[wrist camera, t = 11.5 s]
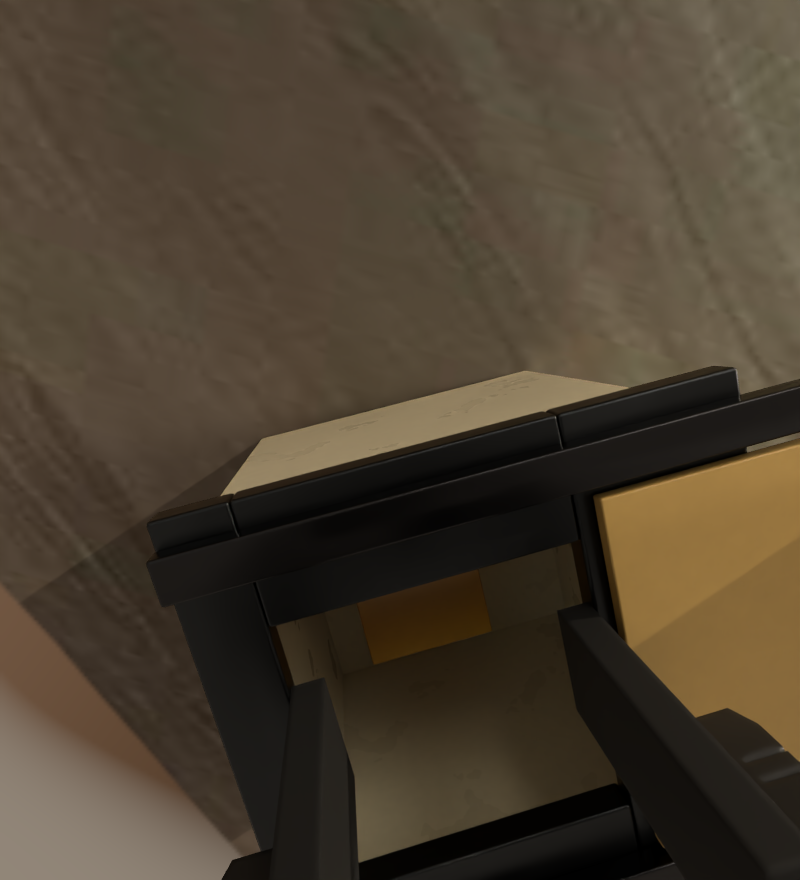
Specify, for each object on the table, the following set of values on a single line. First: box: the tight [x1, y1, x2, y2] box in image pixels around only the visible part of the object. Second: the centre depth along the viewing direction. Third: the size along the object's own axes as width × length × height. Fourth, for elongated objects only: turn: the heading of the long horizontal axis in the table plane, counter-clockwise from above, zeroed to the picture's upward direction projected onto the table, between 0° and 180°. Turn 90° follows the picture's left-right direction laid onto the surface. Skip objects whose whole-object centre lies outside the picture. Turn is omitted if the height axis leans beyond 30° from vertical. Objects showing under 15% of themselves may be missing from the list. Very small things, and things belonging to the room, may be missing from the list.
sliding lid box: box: [146, 366, 800, 880], centre depth 19 cm, size 13×18×13 cm
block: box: [356, 569, 492, 665], centre depth 22 cm, size 4×4×4 cm
